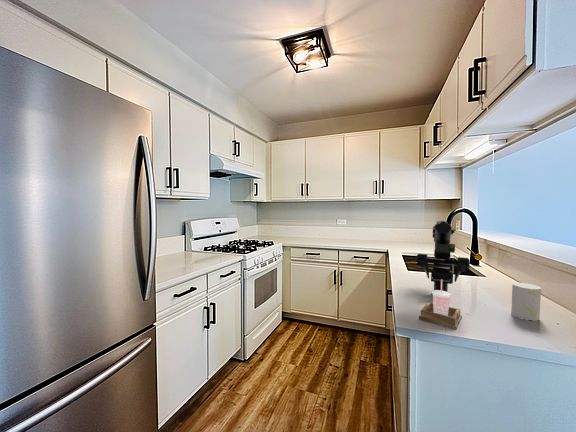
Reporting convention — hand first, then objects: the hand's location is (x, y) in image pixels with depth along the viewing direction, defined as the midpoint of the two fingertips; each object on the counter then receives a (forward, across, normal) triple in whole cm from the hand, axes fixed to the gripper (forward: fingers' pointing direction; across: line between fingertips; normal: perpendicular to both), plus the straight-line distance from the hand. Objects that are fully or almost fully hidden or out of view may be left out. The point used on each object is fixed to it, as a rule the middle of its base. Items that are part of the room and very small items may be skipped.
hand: (441, 279), depth 105 cm
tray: (+14, 0, +4) cm, 15 cm away
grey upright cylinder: (+1, +28, +18) cm, 33 cm away
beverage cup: (+14, 0, +4) cm, 14 cm away
